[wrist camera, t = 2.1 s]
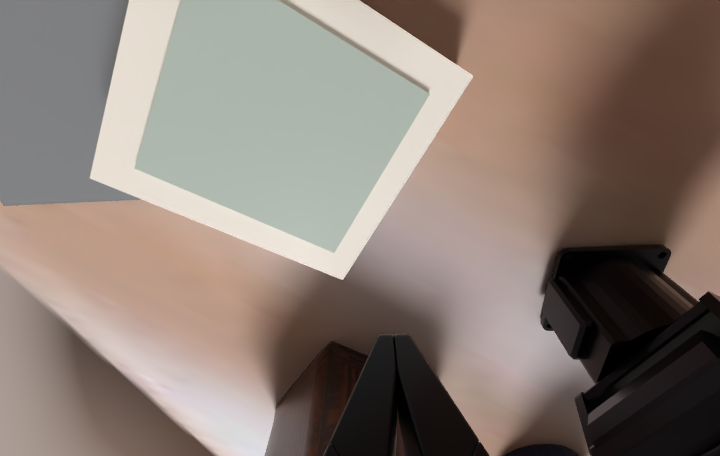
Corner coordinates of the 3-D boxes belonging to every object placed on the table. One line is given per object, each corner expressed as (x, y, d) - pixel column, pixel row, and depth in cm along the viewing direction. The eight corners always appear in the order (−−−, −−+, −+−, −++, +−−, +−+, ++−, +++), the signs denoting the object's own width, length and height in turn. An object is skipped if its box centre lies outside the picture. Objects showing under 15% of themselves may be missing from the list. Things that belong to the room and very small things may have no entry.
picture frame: (186, -106, 14) (455, 70, 17) (118, 161, 18) (341, 255, 22) (155, -136, 11) (475, 76, 15) (86, 180, 16) (342, 282, 20)
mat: (215, -316, 12) (205, -337, 11) (294, 187, 20) (292, 192, 20) (-250, -260, 13) (-286, -277, 12) (15, 200, 21) (3, 205, 21)
